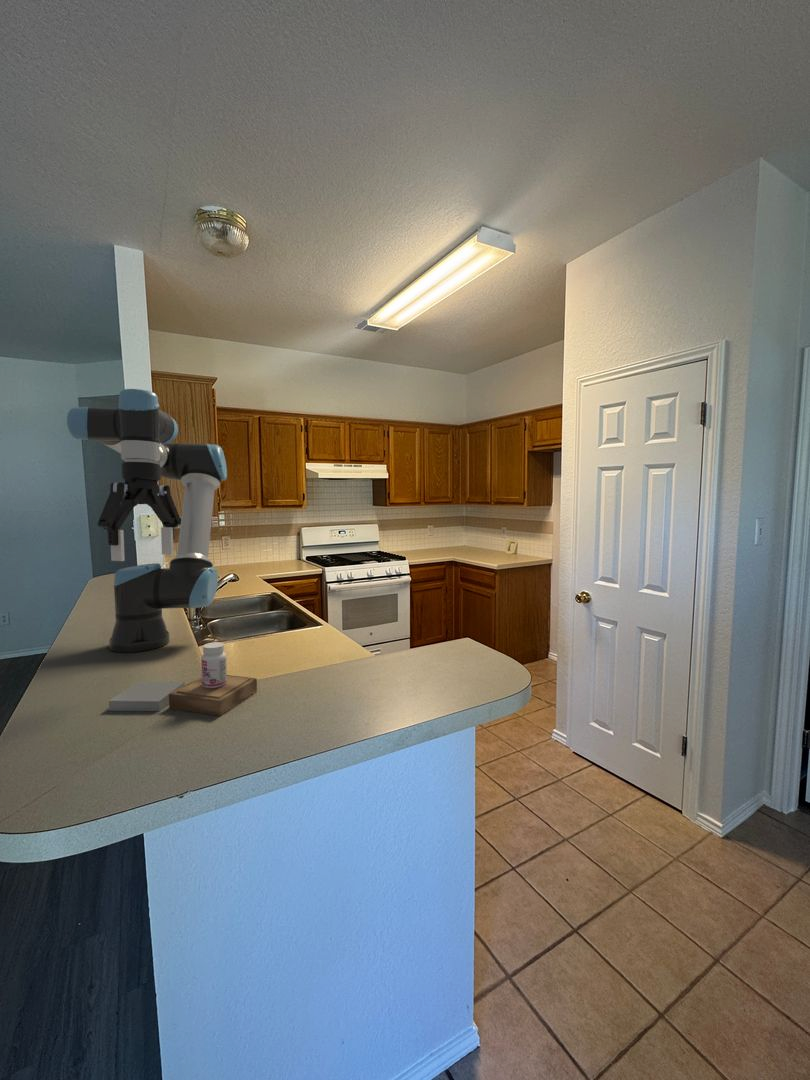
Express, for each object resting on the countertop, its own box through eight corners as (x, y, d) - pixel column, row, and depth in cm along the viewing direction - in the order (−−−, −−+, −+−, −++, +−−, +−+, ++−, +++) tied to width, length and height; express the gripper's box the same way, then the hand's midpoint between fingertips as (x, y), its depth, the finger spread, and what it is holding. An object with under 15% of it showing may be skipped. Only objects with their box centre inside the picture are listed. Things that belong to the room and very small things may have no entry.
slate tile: (139, 690, 99) (138, 681, 99) (184, 690, 99) (184, 681, 99) (109, 710, 89) (108, 700, 89) (159, 711, 89) (159, 701, 89)
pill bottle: (197, 688, 93) (196, 647, 92) (210, 679, 97) (209, 640, 97) (219, 689, 92) (218, 648, 91) (231, 680, 97) (230, 642, 96)
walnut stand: (210, 685, 102) (209, 671, 102) (256, 691, 99) (256, 677, 99) (169, 708, 91) (168, 692, 90) (220, 716, 87) (220, 699, 87)
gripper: (170, 467, 114) (172, 551, 115) (73, 456, 90) (78, 563, 91) (195, 466, 112) (197, 552, 113) (103, 455, 88) (107, 564, 89)
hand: (144, 557), depth 102 cm, fingers open, 13 cm apart
